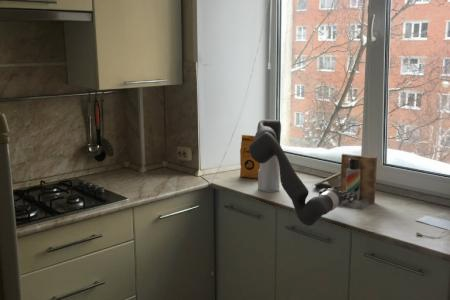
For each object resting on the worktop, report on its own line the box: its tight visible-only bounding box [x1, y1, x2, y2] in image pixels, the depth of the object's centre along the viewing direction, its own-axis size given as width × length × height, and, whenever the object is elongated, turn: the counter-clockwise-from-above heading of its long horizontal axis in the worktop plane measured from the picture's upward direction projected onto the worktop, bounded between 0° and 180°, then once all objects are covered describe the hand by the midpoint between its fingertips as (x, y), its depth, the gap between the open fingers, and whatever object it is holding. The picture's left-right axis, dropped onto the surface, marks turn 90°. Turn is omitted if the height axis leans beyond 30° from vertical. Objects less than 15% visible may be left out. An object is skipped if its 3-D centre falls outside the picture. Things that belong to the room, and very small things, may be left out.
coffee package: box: [239, 134, 260, 180], centre depth 272 cm, size 10×12×22 cm
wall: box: [311, 171, 341, 188], centre depth 253 cm, size 16×9×15 cm
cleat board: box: [338, 153, 378, 210], centre depth 226 cm, size 15×12×20 cm
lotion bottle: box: [346, 158, 360, 201], centre depth 226 cm, size 6×6×20 cm
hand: (344, 190), depth 216 cm, fingers open, 8 cm apart
